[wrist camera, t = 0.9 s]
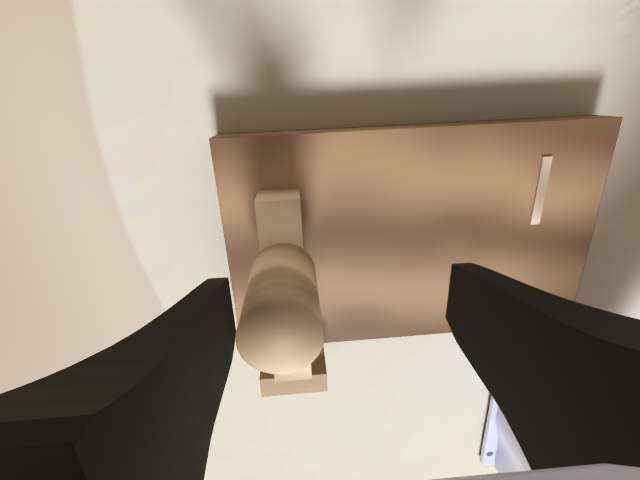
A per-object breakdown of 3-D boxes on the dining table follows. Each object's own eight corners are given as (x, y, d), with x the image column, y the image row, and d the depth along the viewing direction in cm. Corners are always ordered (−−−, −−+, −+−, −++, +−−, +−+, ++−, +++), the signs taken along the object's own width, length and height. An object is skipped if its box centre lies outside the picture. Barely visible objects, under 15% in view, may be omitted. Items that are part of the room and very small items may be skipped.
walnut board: (548, 305, 24) (570, 323, 22) (245, 328, 23) (241, 350, 21) (591, 115, 19) (624, 117, 17) (217, 134, 18) (208, 138, 16)
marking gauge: (322, 349, 23) (338, 482, 15) (266, 354, 23) (252, 490, 15) (313, 180, 19) (329, 241, 11) (245, 184, 19) (210, 249, 11)
